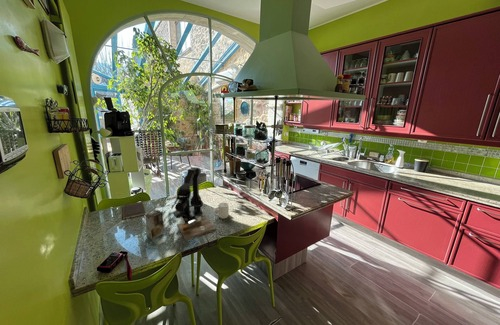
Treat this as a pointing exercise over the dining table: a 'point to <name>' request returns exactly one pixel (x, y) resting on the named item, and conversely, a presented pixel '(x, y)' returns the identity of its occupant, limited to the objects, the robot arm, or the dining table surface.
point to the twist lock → (192, 222)
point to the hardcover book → (133, 210)
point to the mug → (222, 210)
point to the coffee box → (154, 224)
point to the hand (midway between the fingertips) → (186, 223)
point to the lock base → (196, 228)
